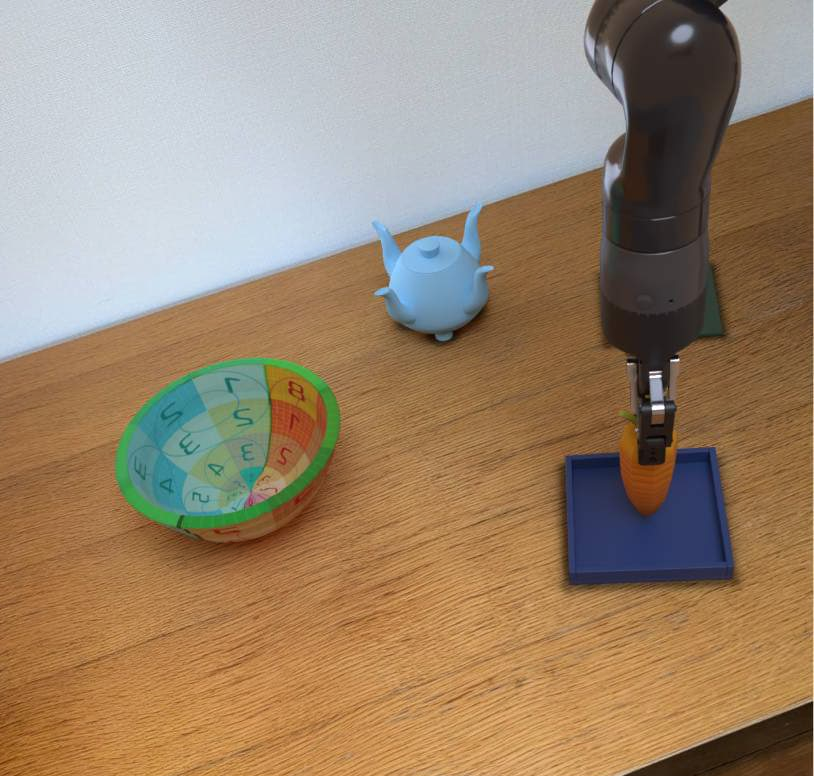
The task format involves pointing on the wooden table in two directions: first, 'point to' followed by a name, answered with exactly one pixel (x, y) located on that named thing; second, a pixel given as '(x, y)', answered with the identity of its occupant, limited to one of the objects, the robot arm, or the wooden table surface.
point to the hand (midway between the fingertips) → (648, 437)
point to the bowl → (230, 449)
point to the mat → (711, 310)
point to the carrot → (644, 470)
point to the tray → (646, 523)
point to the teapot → (435, 280)
